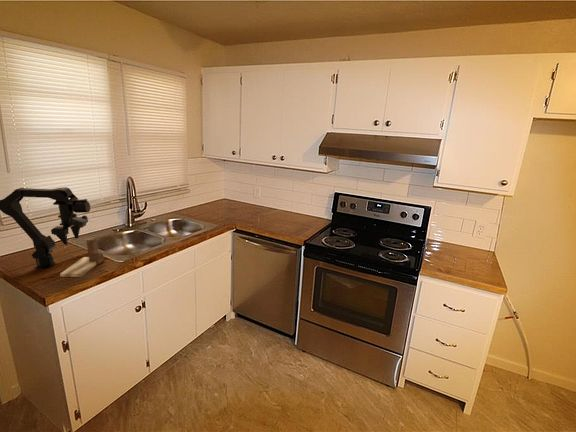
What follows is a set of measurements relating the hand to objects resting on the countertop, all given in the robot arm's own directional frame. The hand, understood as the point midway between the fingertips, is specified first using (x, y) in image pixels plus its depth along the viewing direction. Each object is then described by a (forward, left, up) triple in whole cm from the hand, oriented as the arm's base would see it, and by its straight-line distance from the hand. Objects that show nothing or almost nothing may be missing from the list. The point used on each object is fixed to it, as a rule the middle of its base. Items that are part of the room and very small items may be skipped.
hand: (71, 241), depth 163 cm
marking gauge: (+9, +2, -13) cm, 16 cm away
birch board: (+6, -4, -13) cm, 15 cm away
